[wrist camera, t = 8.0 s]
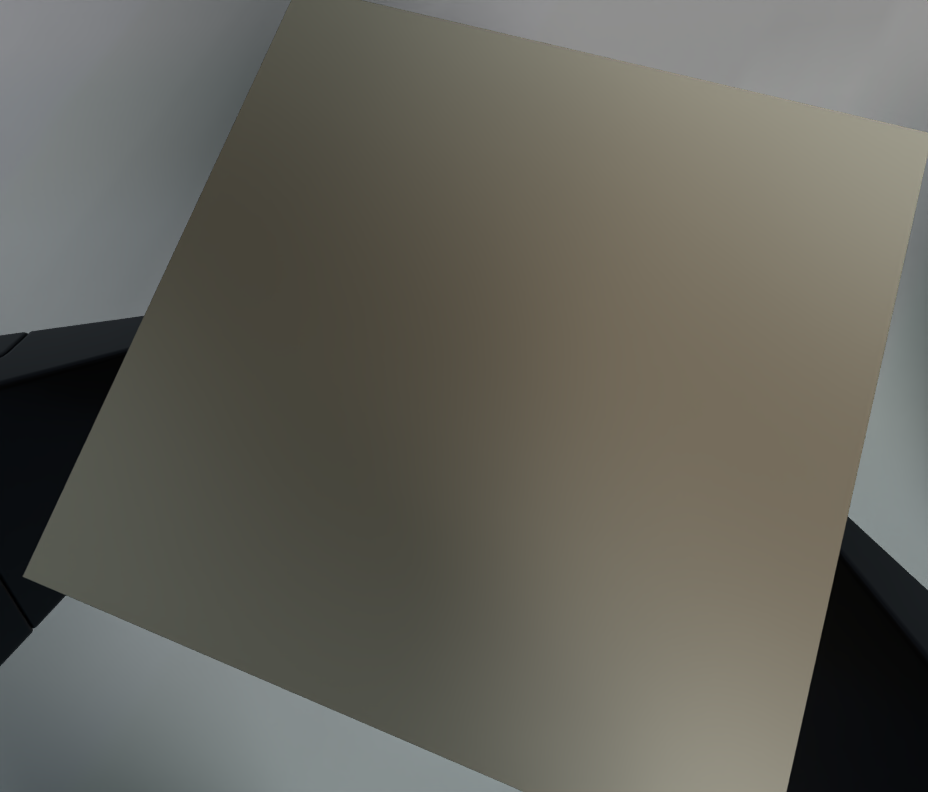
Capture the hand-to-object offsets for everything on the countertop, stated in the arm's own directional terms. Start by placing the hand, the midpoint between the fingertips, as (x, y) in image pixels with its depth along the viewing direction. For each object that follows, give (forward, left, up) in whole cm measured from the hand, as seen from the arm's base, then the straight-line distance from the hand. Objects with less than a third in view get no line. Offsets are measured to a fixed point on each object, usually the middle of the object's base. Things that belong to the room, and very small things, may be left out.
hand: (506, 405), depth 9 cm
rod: (-1, 0, -7) cm, 8 cm away
